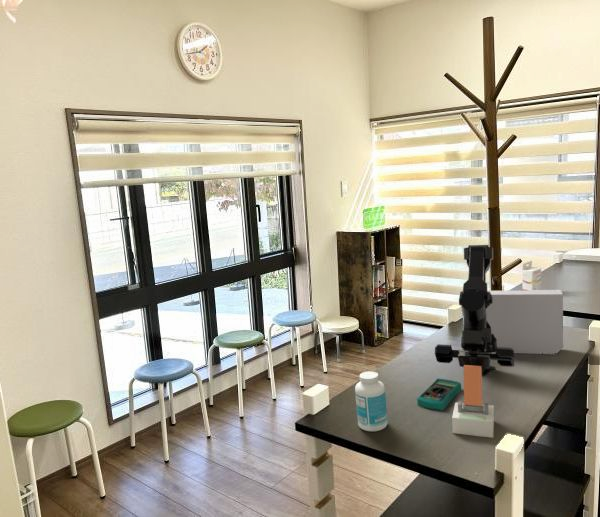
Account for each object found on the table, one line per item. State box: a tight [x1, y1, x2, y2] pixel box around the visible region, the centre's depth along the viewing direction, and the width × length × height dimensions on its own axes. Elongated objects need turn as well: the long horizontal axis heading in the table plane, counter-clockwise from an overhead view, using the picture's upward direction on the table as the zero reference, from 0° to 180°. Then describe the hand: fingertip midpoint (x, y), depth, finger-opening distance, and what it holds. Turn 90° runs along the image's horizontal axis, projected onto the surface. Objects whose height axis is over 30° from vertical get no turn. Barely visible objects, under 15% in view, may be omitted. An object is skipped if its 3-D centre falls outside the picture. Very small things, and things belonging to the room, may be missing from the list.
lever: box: [463, 365, 483, 412], centre depth 121 cm, size 2×4×11 cm, turn 68°
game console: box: [486, 289, 564, 355], centre depth 165 cm, size 6×27×20 cm, turn 71°
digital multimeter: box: [416, 377, 462, 411], centre depth 138 cm, size 7×15×3 cm, turn 143°
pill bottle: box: [354, 370, 389, 432], centre depth 126 cm, size 8×7×14 cm
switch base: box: [451, 400, 495, 439], centre depth 121 cm, size 8×9×6 cm
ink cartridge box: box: [521, 260, 542, 291], centre depth 228 cm, size 9×5×15 cm, turn 130°
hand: (473, 387), depth 123 cm, fingers closed
